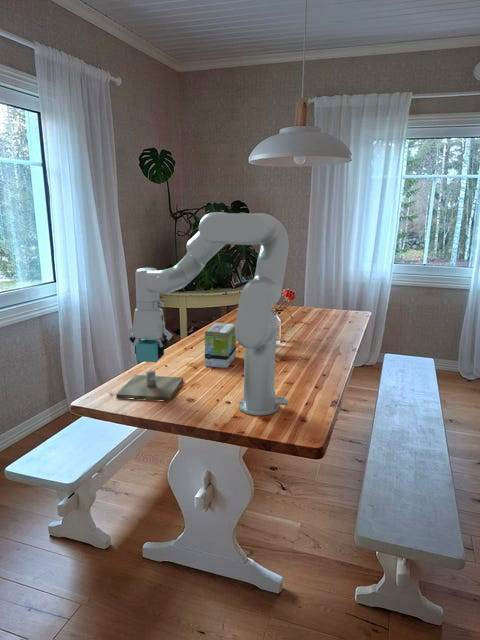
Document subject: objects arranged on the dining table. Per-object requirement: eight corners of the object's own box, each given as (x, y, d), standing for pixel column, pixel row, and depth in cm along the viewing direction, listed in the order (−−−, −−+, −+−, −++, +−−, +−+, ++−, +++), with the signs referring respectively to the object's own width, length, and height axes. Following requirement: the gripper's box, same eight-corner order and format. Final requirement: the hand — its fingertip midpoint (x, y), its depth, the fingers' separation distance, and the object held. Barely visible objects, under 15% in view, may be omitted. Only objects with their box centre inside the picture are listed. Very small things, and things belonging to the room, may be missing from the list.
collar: (162, 355, 156) (162, 339, 154) (156, 362, 149) (156, 345, 148) (143, 354, 157) (142, 338, 155) (136, 361, 150) (135, 344, 148)
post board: (183, 381, 163) (182, 364, 162) (169, 401, 146) (169, 383, 144) (135, 378, 165) (134, 361, 164) (116, 398, 148) (115, 380, 146)
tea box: (228, 368, 177) (228, 332, 174) (203, 366, 179) (203, 330, 176) (236, 356, 191) (236, 323, 188) (213, 355, 193) (213, 321, 190)
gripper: (176, 304, 151) (177, 354, 155) (126, 302, 153) (129, 351, 157) (170, 309, 144) (171, 361, 148) (118, 306, 146) (121, 358, 150)
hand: (149, 356), depth 153 cm, fingers closed on collar, 7 cm apart
